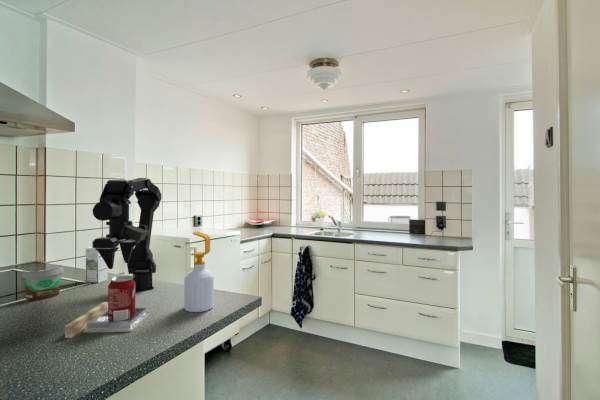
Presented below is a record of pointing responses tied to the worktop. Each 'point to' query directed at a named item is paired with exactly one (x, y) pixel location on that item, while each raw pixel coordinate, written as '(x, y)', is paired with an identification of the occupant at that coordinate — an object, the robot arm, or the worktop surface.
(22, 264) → the worktop surface
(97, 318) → the tray
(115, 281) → the soda can
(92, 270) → the syrup box
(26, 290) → the food container
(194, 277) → the soap bottle
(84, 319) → the oak threshold
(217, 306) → the worktop surface
